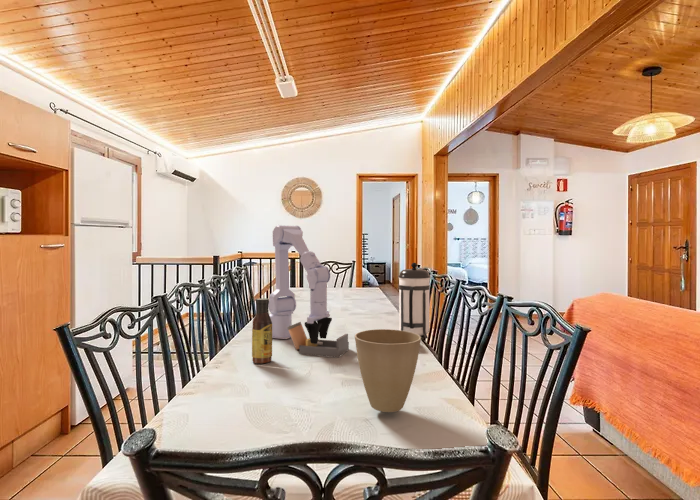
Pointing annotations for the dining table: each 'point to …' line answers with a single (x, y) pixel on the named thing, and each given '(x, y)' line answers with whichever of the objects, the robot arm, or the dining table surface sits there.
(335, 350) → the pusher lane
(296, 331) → the jar
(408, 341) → the plant pot
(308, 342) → the tan pusher block
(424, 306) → the coffee press
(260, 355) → the sauce bottle
